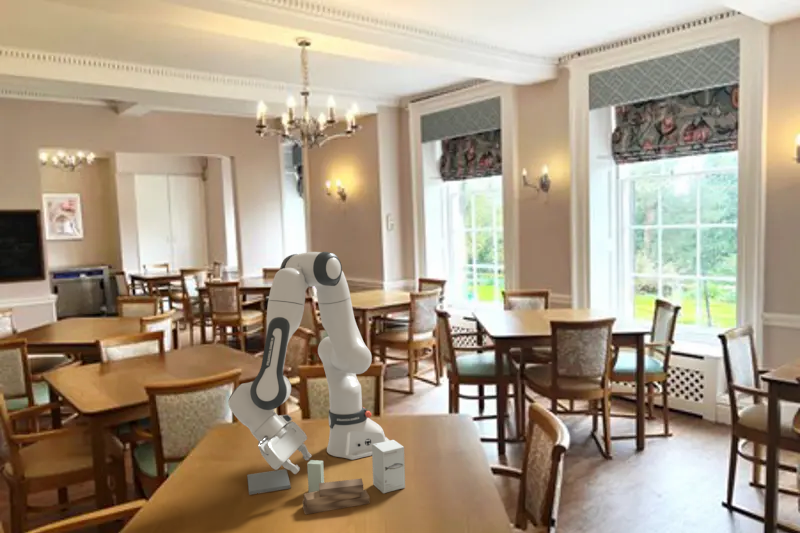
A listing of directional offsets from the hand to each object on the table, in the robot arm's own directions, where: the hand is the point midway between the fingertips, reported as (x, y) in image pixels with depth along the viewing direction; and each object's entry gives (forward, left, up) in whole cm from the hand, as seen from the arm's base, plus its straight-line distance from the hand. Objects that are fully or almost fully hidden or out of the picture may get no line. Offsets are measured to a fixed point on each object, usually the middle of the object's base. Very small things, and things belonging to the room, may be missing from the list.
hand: (303, 465), depth 171 cm
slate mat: (+10, -9, -8) cm, 16 cm away
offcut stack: (-7, +12, -8) cm, 16 cm away
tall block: (-3, +2, -8) cm, 9 cm away
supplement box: (-24, +6, -8) cm, 26 cm away
